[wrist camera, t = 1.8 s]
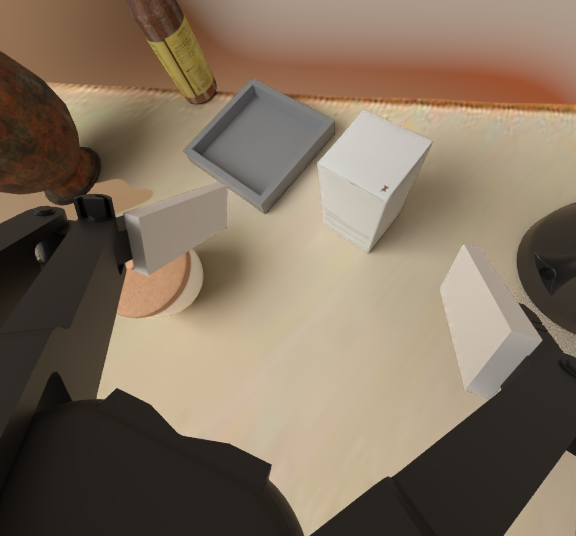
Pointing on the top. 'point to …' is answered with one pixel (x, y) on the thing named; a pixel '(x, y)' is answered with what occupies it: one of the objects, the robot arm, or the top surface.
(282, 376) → the top surface
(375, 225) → the supplement box
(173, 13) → the sauce bottle
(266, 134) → the tray
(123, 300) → the lidded jar
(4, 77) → the pitcher
